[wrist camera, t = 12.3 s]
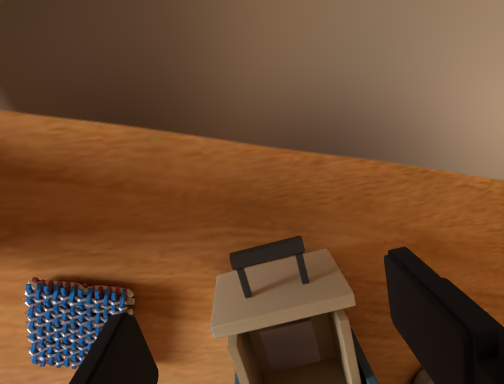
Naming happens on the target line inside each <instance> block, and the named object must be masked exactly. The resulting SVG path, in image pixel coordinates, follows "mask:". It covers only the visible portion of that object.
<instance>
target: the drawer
mask: <svg viewBox="0 0 504 384" xmlns="http://www.w3.org/2000/svg"><path fill="white" fill-rule="evenodd" d="M304 252H305V248H304V244H303V241H302V238H301V236H296V237H292V238H288V239H284V240H280V241H276V242H272V243H268V244H264V245H260V246H256V247H252V248H248V249H244V250H240V251H236V252H232V253H230V262H231V266H232V268H233V270H236V271H232V272H228V273H224V274H220V275H217V279H216V287H215V294H214V302H213V309H212V317H211V324H210V329H211V332H212V335H213V337H214V339H219V338H223V337H227V336H228V351H229V354H230V357H231V360H232V363H233V365H234V368H235V371H236V374H237V376H238V379H239V382H240V384H361V379H360V374H359V369H358V364H357V358H356V353H355V348H354V343H353V338H352V333H351V327H350V322H349V319H348V317H347V315H346V313H345V311H344V308H348V307H352V306H356V302H355V297H354V293H353V291H352V289H351V288H350V286H349V284H348V283H347V281H346V279H345V277H344V276H343V274H342V272H341V271H340V269H339V267H338V265H337V264H336V262H335V260H334V259H333V257H332V255H331V254H330V252H329V250H328V249H327V248H325V249H321V250H317V251H313V252H308V253H304ZM303 253H304V254H303ZM292 255H295V256H292ZM288 256H292V257H288ZM284 257H288V258H284ZM280 258H284V259H280ZM276 259H280V260H276ZM272 260H276V261H272ZM268 261H272V262H268ZM264 262H268V263H264ZM260 263H264V264H260ZM256 264H260V265H256ZM252 265H256V266H252ZM248 266H252V267H248ZM244 267H248V268H244ZM306 317H311V320H312V324H313V329H314V333H315V337H316V341H317V345H318V349H319V353H320V357H321V361H318V362H314V363H310V364H306V365H301V366H297V367H293V368H289V369H285V370H280V371H276V372H271V370H270V366H269V363H268V360H267V357H266V354H265V351H264V347H263V344H262V341H261V338H260V335H259V329H260V328H265V327H269V326H273V325H277V324H281V323H285V322H290V321H294V320H298V319H302V318H306Z"/></svg>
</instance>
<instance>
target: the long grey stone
mask: <svg viewBox="0 0 504 384" xmlns="http://www.w3.org/2000/svg"><path fill="white" fill-rule="evenodd" d="M413 384H434V382H433V381H432V379H431V378H430V376H429V375H428V374H427V372H426V371H425V369H422V370H421V371H420V372H418V374H417V377H416V378H415V379H414V383H413Z"/></svg>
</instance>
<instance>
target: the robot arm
mask: <svg viewBox="0 0 504 384" xmlns="http://www.w3.org/2000/svg"><path fill="white" fill-rule="evenodd" d="M384 264H385V272H386V280H387V289H388V297H389V305H390V314H391V318H392V321H393V324H394V326H395V327H396V329H397V330H398V332H399V333H400V334H401V336H402V337H403V339H404V340H405V342H406V343H407V345H408V346H409V347H410V349H411V350H412V352H413V353H414V355H415V356H416V358H417V359H418V361H419V362H420V363H421V365H422V366H423V368H424V369H425V371H426V372H427V374H428V375H429V376H430V378H431V379H432V381H433V382H434V384H504V327H503V326H502V325H501V324H499V323H498V322H497V321H496V320H495V319H494V318H492V317H491V316H490V315H489V314H488V313H487V312H486V311H484V310H483V309H482V308H481V307H480V306H479V305H477V304H476V303H475V302H474V301H473V300H472V299H470V298H469V297H468V296H467V295H466V294H465V293H463V292H462V291H461V290H460V289H459V288H458V287H456V286H455V285H454V284H453V283H452V282H451V281H449V280H448V279H446V278H441V277H440V276H439V275H438V274H437V273H435V272H434V271H433V270H432V269H431V268H430V267H429V266H427V265H426V264H425V263H424V262H423V261H422V260H421V259H420V258H418V257H417V256H416V255H415V254H414V253H413V252H412V251H410V250H409V249H408V248H407V247H400V248H396V249H392V250H389V251H388V255H385V256H384ZM158 376H159V375H158V369H157V366H156V364H155V361H154V359H153V357H152V355H151V352H150V350H149V348H148V346H147V343H146V341H145V339H144V337H143V334H142V332H141V330H140V327H139V325H138V323H137V321H136V318H135V316H134V315H130V314H129V313H128V312H123V313H119V314H114V315H111V316H110V317H109V318H108V319H107V321H106V323H105V324H104V326H103V328H102V329H101V331H100V333H99V334H98V336H97V338H96V339H95V341H94V343H93V344H92V346H91V348H90V350H89V351H88V353H87V355H86V356H85V358H84V360H83V361H82V363H81V365H80V366H79V368H78V370H77V371H76V373H75V375H74V376H73V378H72V380H71V381H70V383H69V384H157V382H158Z"/></svg>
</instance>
